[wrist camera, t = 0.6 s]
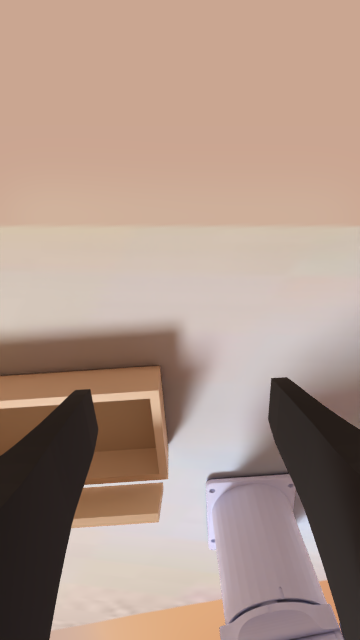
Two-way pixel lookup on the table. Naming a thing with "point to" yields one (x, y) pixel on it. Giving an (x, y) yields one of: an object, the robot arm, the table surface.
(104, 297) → the table surface
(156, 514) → the lid flap
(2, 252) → the table surface
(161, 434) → the carton
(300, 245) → the table surface
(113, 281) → the table surface
